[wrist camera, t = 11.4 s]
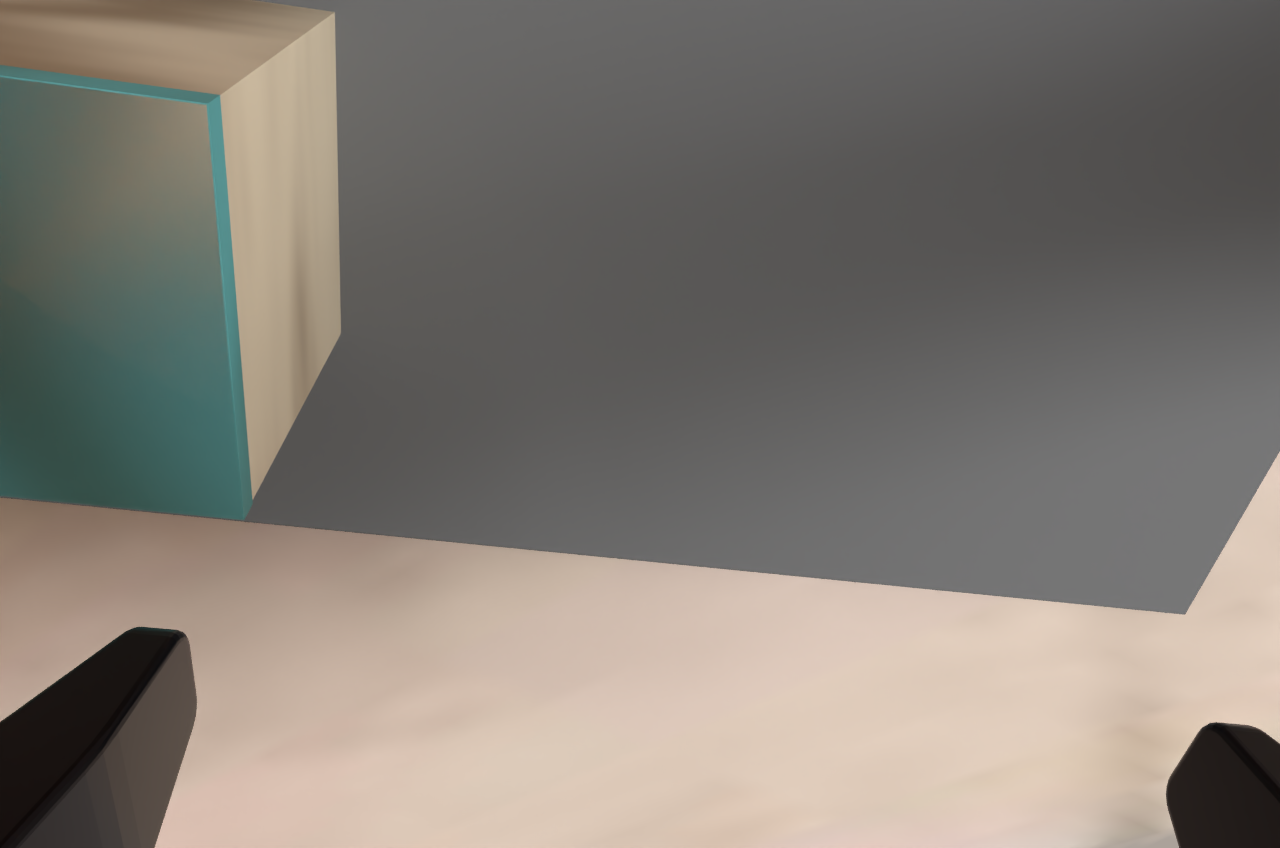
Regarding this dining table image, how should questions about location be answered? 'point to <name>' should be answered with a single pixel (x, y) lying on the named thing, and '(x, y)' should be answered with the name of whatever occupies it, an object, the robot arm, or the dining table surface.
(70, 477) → the beech cube
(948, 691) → the dining table surface
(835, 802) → the dining table surface
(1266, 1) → the rubber mat
